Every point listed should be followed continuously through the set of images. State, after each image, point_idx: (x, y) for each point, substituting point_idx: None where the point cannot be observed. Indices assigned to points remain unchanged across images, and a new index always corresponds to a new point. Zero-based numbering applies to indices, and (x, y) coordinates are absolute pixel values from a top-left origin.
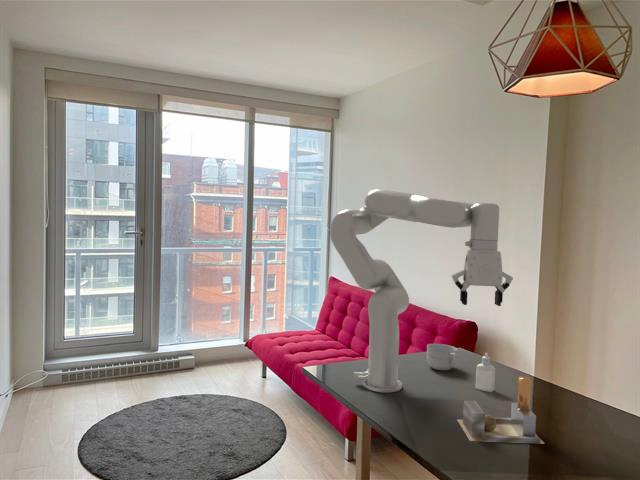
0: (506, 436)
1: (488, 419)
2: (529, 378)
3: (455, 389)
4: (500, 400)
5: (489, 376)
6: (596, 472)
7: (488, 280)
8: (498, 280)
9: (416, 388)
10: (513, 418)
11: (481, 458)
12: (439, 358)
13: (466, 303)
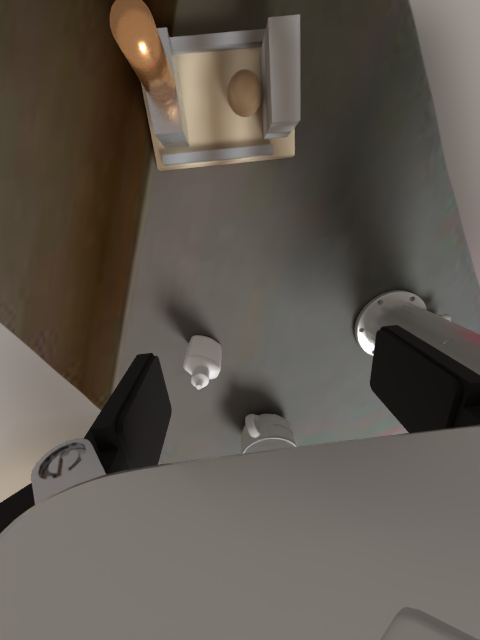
0: (214, 41)
1: (248, 71)
2: (116, 25)
3: (258, 335)
4: (184, 299)
5: (196, 348)
6: None
7: (290, 558)
8: (9, 609)
9: (328, 325)
10: (184, 123)
11: None
12: (277, 425)
13: (385, 331)
